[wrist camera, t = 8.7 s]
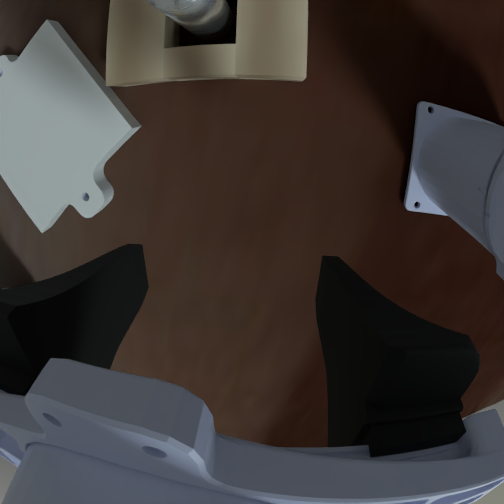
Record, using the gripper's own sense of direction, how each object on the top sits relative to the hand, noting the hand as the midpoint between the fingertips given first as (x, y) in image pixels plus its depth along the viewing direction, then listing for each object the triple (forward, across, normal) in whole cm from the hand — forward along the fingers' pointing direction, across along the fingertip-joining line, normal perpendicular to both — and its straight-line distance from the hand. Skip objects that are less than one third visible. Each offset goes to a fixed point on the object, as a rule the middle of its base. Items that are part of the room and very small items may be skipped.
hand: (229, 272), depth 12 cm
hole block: (+10, +3, -12) cm, 16 cm away
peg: (+10, +3, -12) cm, 16 cm away
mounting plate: (+11, +17, -6) cm, 21 cm away
